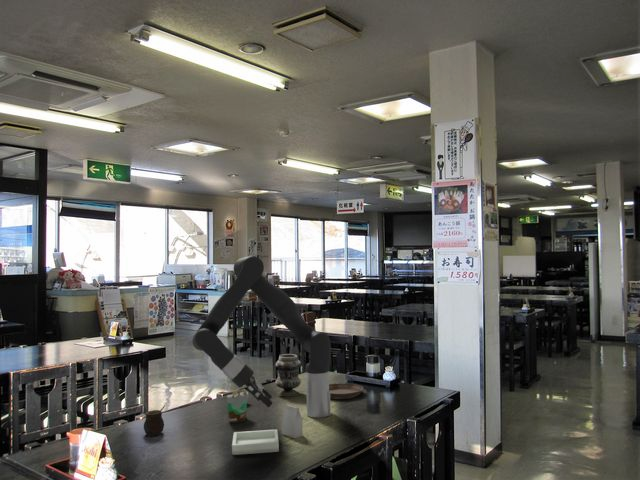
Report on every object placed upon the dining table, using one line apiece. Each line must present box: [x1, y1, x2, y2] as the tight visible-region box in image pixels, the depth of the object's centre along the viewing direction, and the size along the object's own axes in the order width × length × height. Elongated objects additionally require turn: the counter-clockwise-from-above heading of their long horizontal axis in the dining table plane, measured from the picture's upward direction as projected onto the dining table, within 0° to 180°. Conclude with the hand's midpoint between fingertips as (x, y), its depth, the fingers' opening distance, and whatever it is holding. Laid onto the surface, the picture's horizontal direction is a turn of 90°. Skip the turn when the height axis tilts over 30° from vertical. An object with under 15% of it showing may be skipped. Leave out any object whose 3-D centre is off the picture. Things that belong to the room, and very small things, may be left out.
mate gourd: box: [143, 405, 166, 437], centre depth 186 cm, size 7×8×10 cm
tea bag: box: [281, 404, 304, 439], centre depth 182 cm, size 4×7×10 cm, turn 43°
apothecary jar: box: [275, 353, 302, 398], centre depth 239 cm, size 12×12×18 cm
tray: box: [231, 428, 280, 456], centre depth 171 cm, size 15×13×3 cm
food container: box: [226, 389, 250, 424], centre depth 201 cm, size 12×6×10 cm, turn 168°
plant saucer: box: [329, 382, 364, 400], centre depth 235 cm, size 21×21×3 cm
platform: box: [226, 388, 249, 398], centre depth 222 cm, size 12×18×7 cm, turn 128°
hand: (270, 401), depth 181 cm, fingers open, 8 cm apart
